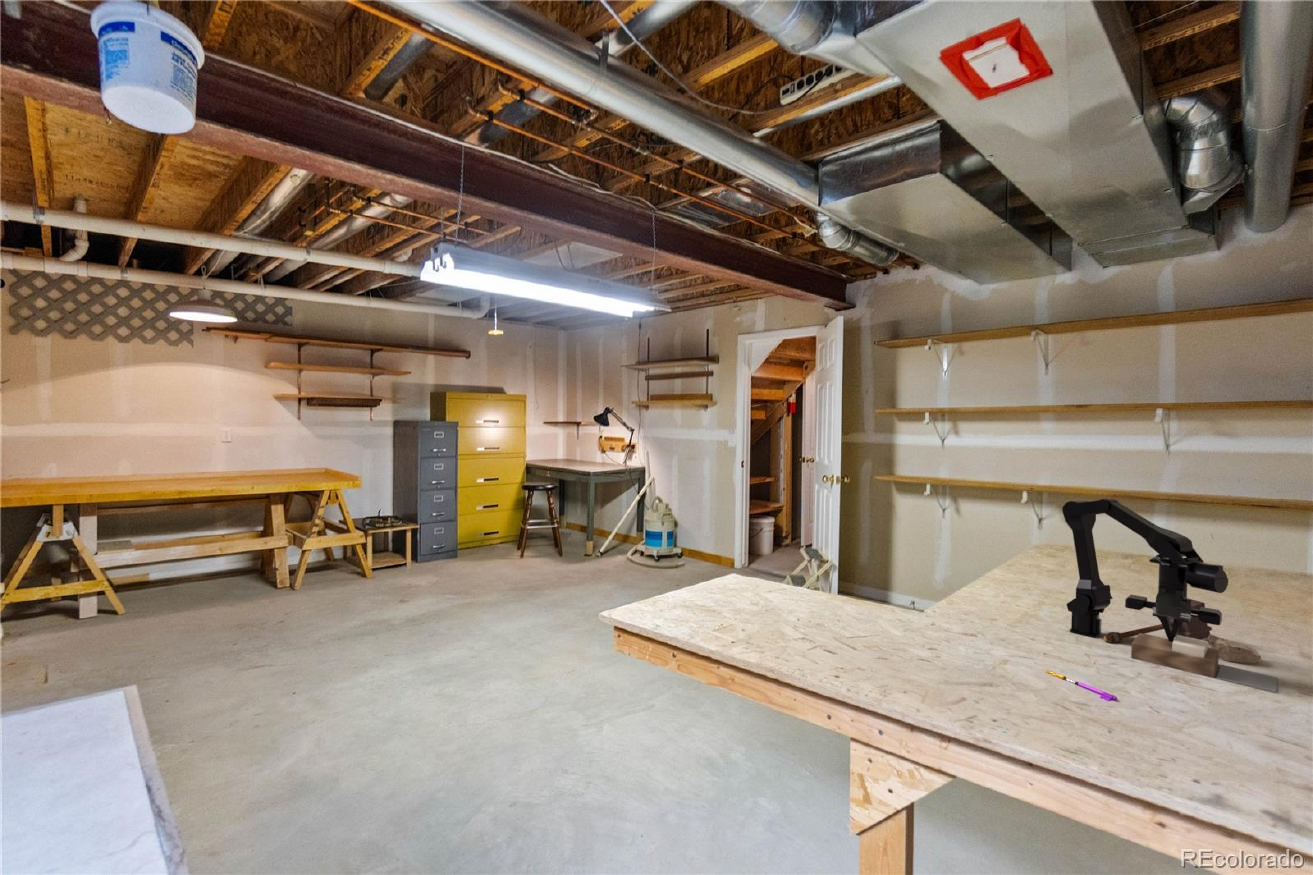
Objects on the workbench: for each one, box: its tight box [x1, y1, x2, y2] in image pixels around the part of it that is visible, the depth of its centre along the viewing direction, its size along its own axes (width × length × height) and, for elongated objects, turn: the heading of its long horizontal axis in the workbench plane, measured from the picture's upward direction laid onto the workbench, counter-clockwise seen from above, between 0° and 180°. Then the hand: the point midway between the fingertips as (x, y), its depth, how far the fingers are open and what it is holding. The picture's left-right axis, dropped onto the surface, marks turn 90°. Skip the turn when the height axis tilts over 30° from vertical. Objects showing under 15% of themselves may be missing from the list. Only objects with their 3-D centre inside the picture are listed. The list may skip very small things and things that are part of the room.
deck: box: [1130, 633, 1220, 679], centre depth 153 cm, size 16×12×4 cm
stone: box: [1208, 633, 1262, 665], centre depth 157 cm, size 9×11×5 cm
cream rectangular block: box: [1172, 635, 1209, 658], centre depth 151 cm, size 6×9×2 cm, turn 132°
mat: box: [1216, 664, 1278, 694], centre depth 143 cm, size 10×12×1 cm
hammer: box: [1102, 597, 1213, 643], centre depth 169 cm, size 7×33×10 cm, turn 100°
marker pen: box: [1045, 670, 1118, 702], centre depth 137 cm, size 3×1×16 cm
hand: (1170, 641), depth 153 cm, fingers closed
